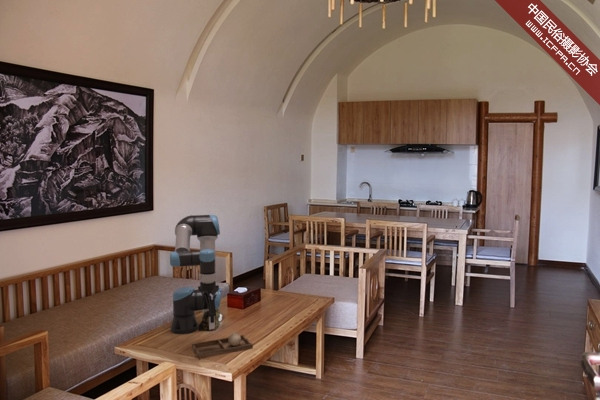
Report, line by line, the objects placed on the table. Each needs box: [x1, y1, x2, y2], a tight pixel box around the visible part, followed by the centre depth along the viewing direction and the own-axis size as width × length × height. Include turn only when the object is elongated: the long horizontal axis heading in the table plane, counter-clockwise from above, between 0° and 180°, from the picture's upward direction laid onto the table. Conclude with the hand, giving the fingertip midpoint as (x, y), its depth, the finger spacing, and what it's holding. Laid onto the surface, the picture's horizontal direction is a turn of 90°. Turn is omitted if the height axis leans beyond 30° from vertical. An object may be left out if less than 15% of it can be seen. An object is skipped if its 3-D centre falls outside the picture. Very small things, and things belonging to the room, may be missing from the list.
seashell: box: [197, 308, 221, 333], centre depth 242 cm, size 11×11×10 cm
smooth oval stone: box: [227, 332, 241, 346], centre depth 249 cm, size 7×7×7 cm
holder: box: [191, 334, 254, 361], centre depth 247 cm, size 14×27×3 cm, turn 117°
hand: (208, 325), depth 243 cm, fingers closed on seashell, 10 cm apart
